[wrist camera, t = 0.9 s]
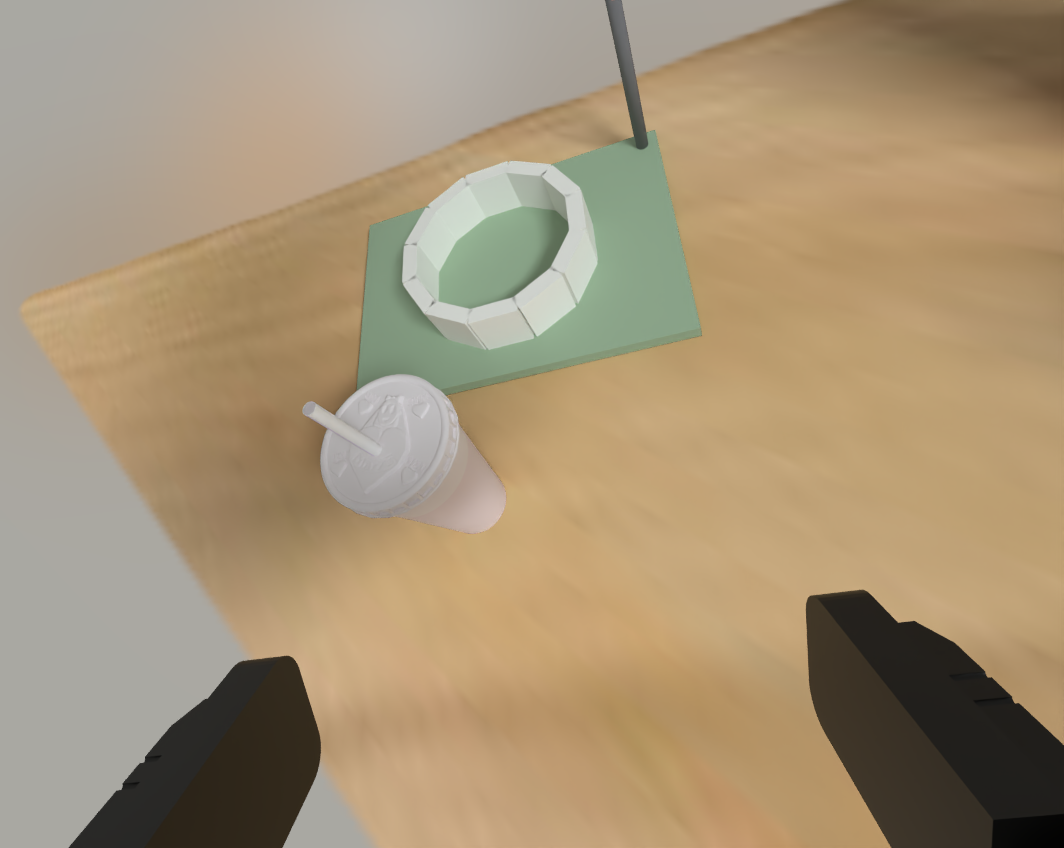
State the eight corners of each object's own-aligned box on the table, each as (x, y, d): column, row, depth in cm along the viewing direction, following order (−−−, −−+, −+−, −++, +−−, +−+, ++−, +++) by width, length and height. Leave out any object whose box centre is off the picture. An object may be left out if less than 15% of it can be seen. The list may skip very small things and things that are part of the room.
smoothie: (413, 549, 33) (216, 471, 21) (441, 444, 35) (277, 318, 23) (515, 566, 30) (359, 488, 18) (539, 453, 32) (414, 316, 20)
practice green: (656, 139, 39) (610, -127, 26) (701, 335, 32) (669, 104, 19) (375, 232, 45) (226, 53, 32) (362, 414, 38) (165, 278, 25)
